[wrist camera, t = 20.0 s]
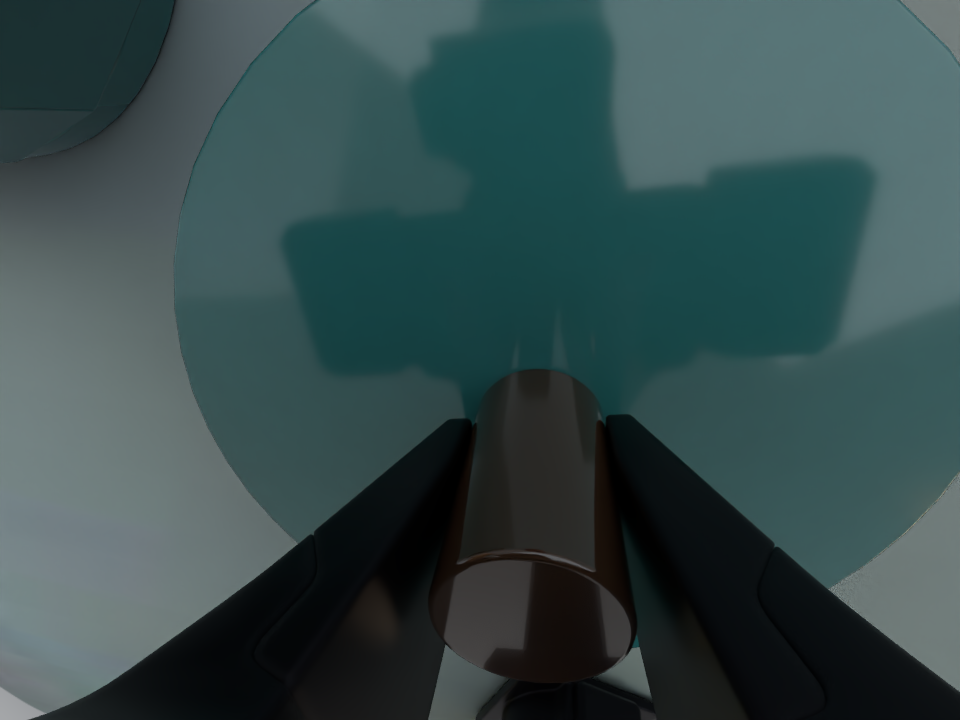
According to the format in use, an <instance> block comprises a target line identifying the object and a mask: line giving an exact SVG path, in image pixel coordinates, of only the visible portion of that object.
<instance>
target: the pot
mask: <svg viewBox="0 0 960 720" xmlns="http://www.w3.org/2000/svg"><path fill="white" fill-rule="evenodd" d="M174 2H175V0H0V163H9V162H17V161H21V160H22V159H24V158H25V157H37V156H45V155H48V154H52V153H56V152H60V151H63V150H67V149H70V148H72V147H74V146H76V145H78V144H80V143H82V142H84V141H86V140H88V139H90V138H92V137H94V136H95V135H97V134H98V133H99V132H100V131H102V130H103V129H104V128H105V127H107V126H108V125H109V124H110V123H111V122H113V121H114V120H115V119H116V118H118V117H119V116H120V114H121V113H122V112H123V111H124V110H125V108H126V107H127V106H128V105H129V104H130V102H131V101H132V100H133V99H134V97H135V96H136V95H137V94H138V93H139V91H140V89H141V87H142V86H143V84H144V82H145V80H146V78H147V77H148V75H149V73H150V71H151V69H152V68H153V66H154V64H155V62H156V60H157V57H158V54H159V52H160V49H161V46H162V43H163V41H164V38H165V35H166V33H167V30H168V27H169V24H170V20H171V15H172V11H173V6H174Z"/></svg>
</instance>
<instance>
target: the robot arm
mask: <svg viewBox="0 0 960 720" xmlns="http://www.w3.org/2000/svg"><path fill="white" fill-rule="evenodd" d="M472 429H473V425H472V422H471V421H470V419H468V418H461V419H449V420H447V421H446V422H445V423H443V424H442V425H441V426H440V427H439V428H437V429H436V430H435V431H434V432H432V433H431V434H430V435H429V436H428V437H426V438H425V439H424V440H423V441H422V442H420V443H419V444H418V445H417V446H416V447H414V448H413V449H412V450H411V451H410V452H408V453H407V454H406V455H405V456H404V457H402V458H401V459H400V460H399V461H398V462H396V463H395V464H394V465H393V466H392V467H390V468H389V469H388V470H387V471H386V472H384V473H383V474H382V475H381V476H380V477H378V478H377V479H376V480H375V481H374V482H372V483H371V484H370V485H369V486H368V487H366V488H365V489H364V490H363V491H362V492H360V493H359V494H358V495H357V496H356V497H354V498H353V499H352V500H351V501H349V502H348V503H347V504H346V505H345V506H343V507H342V508H341V509H340V510H339V511H337V512H336V513H335V514H334V515H333V516H331V517H330V518H329V519H328V520H327V521H325V522H324V523H323V524H322V525H321V526H319V527H318V528H317V529H316V530H315V531H314V535H312V534H310V535H308V536H307V537H306V538H305V539H304V540H302V541H301V542H300V543H299V544H298V545H296V546H295V547H294V548H293V549H292V550H290V551H289V552H288V553H287V554H285V555H284V556H283V557H282V558H280V559H279V560H278V561H277V562H275V563H274V564H273V565H271V566H270V567H269V568H268V569H266V570H265V571H264V572H263V573H261V574H260V575H259V576H258V577H256V578H255V579H254V580H252V581H251V582H249V583H248V584H247V585H245V586H244V587H243V588H241V589H240V590H239V591H237V592H236V593H235V594H233V595H232V596H231V597H229V598H228V599H227V600H225V601H224V602H223V603H221V604H220V605H218V606H217V607H216V608H214V609H213V610H211V611H210V612H209V613H207V614H206V615H204V616H203V617H202V618H200V619H199V620H197V621H196V622H195V623H193V624H192V625H191V626H189V627H188V628H186V629H185V630H184V631H182V632H181V633H179V634H178V635H177V636H175V637H174V638H172V639H171V640H170V641H168V642H167V643H165V644H164V645H163V646H161V647H160V648H158V649H157V650H156V651H154V652H153V653H152V654H150V655H149V656H147V657H146V658H145V659H143V660H142V661H140V662H139V663H138V664H136V665H135V666H133V667H132V668H131V669H129V670H128V671H126V672H125V673H123V674H122V675H120V676H119V677H117V678H116V679H114V680H113V681H112V682H110V683H108V684H107V685H105V686H103V687H102V688H100V689H98V690H96V691H95V692H93V693H91V694H90V695H88V696H86V697H84V698H81V699H79V700H77V701H75V702H73V703H71V704H69V705H67V706H64V707H62V708H60V709H57V710H55V711H52V712H50V713H47V714H45V715H41V716H39V717H35V718H33V719H29V720H428V717H429V713H430V709H431V704H432V700H433V696H434V692H435V687H436V683H437V679H438V674H439V670H440V666H441V661H442V657H443V653H444V648H445V643H444V642H443V640H442V639H441V638H440V637H439V635H438V634H437V632H436V631H435V629H434V627H433V625H432V622H431V620H430V615H429V610H428V594H429V590H430V586H431V582H432V579H433V575H434V571H435V567H436V564H437V560H438V556H439V552H440V549H441V545H442V541H443V537H444V534H445V530H446V526H447V522H448V519H449V515H450V511H451V507H452V504H453V500H454V496H455V492H456V489H457V485H458V481H459V477H460V474H461V470H462V466H463V462H464V459H465V455H466V451H467V447H468V444H469V440H470V436H471V432H472ZM606 433H607V439H608V445H609V451H610V458H611V464H612V470H613V476H614V481H615V487H616V492H617V498H618V504H619V510H620V516H621V522H622V529H623V535H624V541H625V547H626V553H627V559H628V565H629V571H630V577H631V583H632V589H633V595H634V601H635V607H636V613H637V621H638V628H637V638H638V642H639V646H640V650H641V655H642V659H643V663H644V667H645V671H646V676H647V680H648V684H649V688H650V692H651V696H652V701H653V703H652V702H649V701H647V700H644V699H642V698H639V697H637V696H634V695H632V694H629V693H627V692H624V691H622V690H619V689H617V688H614V687H611V686H609V685H606V684H604V683H601V682H599V681H596V680H594V679H591V678H588V679H584V680H579V681H574V682H565V683H535V682H527V681H521V680H516V679H511V678H510V680H509V681H508V682H507V683H506V684H505V685H504V686H503V687H502V688H501V689H500V690H499V691H498V693H497V694H496V695H495V696H494V697H493V698H492V699H491V700H490V701H489V702H488V703H487V704H486V706H485V707H484V708H483V709H482V710H481V711H480V712H479V713H478V714H477V716H476V720H960V692H959V691H957V690H956V689H955V688H953V687H952V686H951V685H950V684H948V683H947V682H946V681H944V680H943V679H942V678H940V677H939V676H938V675H936V674H935V673H934V672H932V671H931V670H930V669H929V668H927V667H926V666H925V665H923V664H922V663H921V662H919V661H918V660H917V659H915V658H914V657H913V656H911V655H910V654H909V653H908V652H906V651H905V650H904V649H902V648H901V647H900V646H898V645H897V644H896V643H894V642H893V641H892V640H891V639H889V638H888V637H887V636H886V635H884V634H883V633H882V632H880V631H879V630H878V629H877V628H875V627H874V626H873V625H872V624H870V623H869V622H868V621H866V620H865V619H864V618H863V617H861V616H860V615H859V614H858V613H856V612H855V611H854V610H853V609H851V608H850V607H849V606H847V605H846V604H845V603H844V602H842V601H841V600H840V599H839V598H838V597H837V596H835V595H834V594H833V593H832V592H831V591H829V590H828V589H827V588H826V587H825V586H824V585H822V584H821V583H820V582H819V581H818V580H817V579H815V578H814V577H813V576H812V575H811V574H810V573H808V572H807V571H806V570H805V569H804V568H802V567H801V566H800V565H799V564H798V563H797V562H796V561H795V560H794V559H792V558H791V557H790V556H789V555H788V554H787V553H786V552H785V551H783V550H782V549H781V548H780V547H775V544H774V542H773V541H772V540H771V539H770V538H768V537H767V536H766V535H765V534H764V533H763V532H762V531H761V530H760V529H758V528H757V527H756V526H755V525H754V524H753V523H752V522H751V521H749V520H748V519H747V518H746V517H745V516H744V515H743V514H742V513H740V512H739V511H738V510H737V509H736V508H735V507H734V506H733V505H731V504H730V503H729V502H728V501H727V500H726V499H725V498H724V497H722V496H721V495H720V494H719V493H718V492H717V491H716V490H715V489H714V488H712V487H711V486H710V485H709V484H708V483H707V482H706V481H705V480H703V479H702V478H701V477H700V476H699V475H698V474H697V473H696V472H694V471H693V470H692V469H691V468H690V467H689V466H688V465H687V464H685V463H684V462H683V461H682V460H681V459H680V458H679V457H678V456H676V455H675V454H674V453H673V452H672V451H671V450H670V449H669V448H668V447H666V446H665V445H664V444H663V443H662V442H661V441H660V440H659V439H657V438H656V437H655V436H654V435H653V434H652V433H651V432H650V431H648V430H647V429H646V428H645V427H644V426H643V425H642V424H641V423H639V422H638V421H637V420H636V419H635V418H634V417H633V416H631V415H629V414H618V415H608V416H607V417H606Z"/></svg>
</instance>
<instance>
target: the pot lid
mask: <svg viewBox="0 0 960 720" xmlns="http://www.w3.org/2000/svg"><path fill="white" fill-rule="evenodd" d="M174 307H175V315H176V322H177V328H178V335H179V341H180V348H181V353H182V357H183V360H184V364H185V367H186V371H187V374H188V377H189V381H190V384H191V388H192V391H193V394H194V396H195V399H196V401H197V403H198V406H199V408H200V410H201V413H202V415H203V417H204V420H205V422H206V424H207V427H208V429H209V431H210V433H211V434H212V436H213V438H214V440H215V441H216V443H217V445H218V447H219V448H220V450H221V452H222V454H223V456H224V457H225V459H226V461H227V463H228V464H229V465H230V467H231V468H232V470H233V471H234V472H235V474H236V475H237V476H238V478H239V479H240V481H241V482H242V483H243V485H244V486H245V488H246V489H247V490H248V492H249V493H250V494H251V495H252V497H253V498H254V499H255V500H256V501H257V502H258V503H259V505H260V506H261V507H262V508H263V509H264V510H265V511H266V512H267V514H268V515H269V516H270V517H271V518H272V519H273V520H274V521H275V522H276V523H277V524H278V525H279V526H280V527H281V528H282V529H283V530H284V531H285V532H286V533H287V534H289V535H290V536H291V537H292V538H293V539H294V540H295V541H296V542H297V543H298V544H299V543H300V542H301V541H302V540H304V539H305V538H306V537H307V536H308V535H310V534H312V535H314V531H315V530H316V529H317V528H318V527H319V526H321V525H322V524H323V523H324V522H325V521H327V520H328V519H329V518H330V517H331V516H333V515H334V514H335V513H336V512H337V511H339V510H340V509H341V508H342V507H343V506H345V505H346V504H347V503H348V502H349V501H351V500H352V499H353V498H354V497H356V496H357V495H358V494H359V493H360V492H362V491H363V490H364V489H365V488H366V487H368V486H369V485H370V484H371V483H372V482H374V481H375V480H376V479H377V478H378V477H380V476H381V475H382V474H383V473H384V472H386V471H387V470H388V469H389V468H390V467H392V466H393V465H394V464H395V463H396V462H398V461H399V460H400V459H401V458H402V457H404V456H405V455H406V454H407V453H408V452H410V451H411V450H412V449H413V448H414V447H416V446H417V445H418V444H419V443H420V442H422V441H423V440H424V439H425V438H426V437H428V436H429V435H430V434H431V433H432V432H434V431H435V430H436V429H437V428H439V427H440V426H441V425H442V424H443V423H445V422H446V421H447V420H449V419H461V418H468V419H470V421H471V422H472V425H473V429H472V432H471V436H470V440H469V444H468V447H467V451H466V455H465V459H464V462H463V466H462V470H461V474H460V477H459V481H458V485H457V489H456V492H455V496H454V500H453V504H452V507H451V511H450V515H449V519H448V522H447V526H446V530H445V534H444V537H443V541H442V545H441V549H440V552H439V556H438V560H437V564H436V567H435V571H434V575H433V579H432V582H431V586H430V590H429V594H428V610H429V615H430V620H431V622H432V625H433V627H434V629H435V631H436V632H437V634H438V635H439V637H440V638H441V639H442V640H443V642H444V643H445V644H446V645H447V646H448V647H449V648H450V649H451V650H453V651H454V652H455V653H456V654H458V655H459V656H460V657H462V658H463V659H465V660H467V661H468V662H470V663H472V664H474V665H476V666H477V667H479V668H482V669H484V670H486V671H489V672H491V673H494V674H497V675H500V676H504V677H507V678H511V679H516V680H521V681H527V682H535V683H565V682H574V681H579V680H584V679H588V678H591V677H594V676H597V675H599V674H602V673H604V672H606V671H608V670H610V669H612V668H613V667H615V666H616V665H617V664H619V663H620V662H621V661H622V660H623V659H624V658H625V657H626V656H627V655H628V653H629V652H630V650H631V649H632V648H637V647H640V646H639V642H638V638H637V628H638V621H637V613H636V607H635V601H634V595H633V589H632V583H631V577H630V571H629V565H628V559H627V553H626V547H625V541H624V535H623V529H622V522H621V516H620V510H619V504H618V498H617V492H616V487H615V481H614V476H613V470H612V464H611V458H610V451H609V445H608V439H607V433H606V417H607V416H608V415H618V414H629V415H631V416H633V417H634V418H635V419H636V420H637V421H638V422H639V423H641V424H642V425H643V426H644V427H645V428H646V429H647V430H648V431H650V432H651V433H652V434H653V435H654V436H655V437H656V438H657V439H659V440H660V441H661V442H662V443H663V444H664V445H665V446H666V447H668V448H669V449H670V450H671V451H672V452H673V453H674V454H675V455H676V456H678V457H679V458H680V459H681V460H682V461H683V462H684V463H685V464H687V465H688V466H689V467H690V468H691V469H692V470H693V471H694V472H696V473H697V474H698V475H699V476H700V477H701V478H702V479H703V480H705V481H706V482H707V483H708V484H709V485H710V486H711V487H712V488H714V489H715V490H716V491H717V492H718V493H719V494H720V495H721V496H722V497H724V498H725V499H726V500H727V501H728V502H729V503H730V504H731V505H733V506H734V507H735V508H736V509H737V510H738V511H739V512H740V513H742V514H743V515H744V516H745V517H746V518H747V519H748V520H749V521H751V522H752V523H753V524H754V525H755V526H756V527H757V528H758V529H760V530H761V531H762V532H763V533H764V534H765V535H766V536H767V537H768V538H770V539H771V540H772V541H773V542H774V544H775V547H780V548H781V549H782V550H783V551H785V552H786V553H787V554H788V555H789V556H790V557H791V558H792V559H794V560H795V561H796V562H797V563H798V564H799V565H800V566H801V567H802V568H804V569H805V570H806V571H807V572H808V573H810V574H811V575H812V576H813V577H814V578H815V579H817V580H818V581H819V582H820V583H821V584H822V585H824V586H825V587H826V588H827V589H829V588H831V587H832V586H834V585H835V584H837V583H838V582H840V581H842V580H843V579H845V578H846V577H848V576H849V575H851V574H852V573H854V572H856V571H857V570H859V569H860V568H862V567H863V566H865V565H867V564H868V563H869V562H871V561H872V560H873V559H874V558H876V557H877V556H878V555H879V554H881V553H882V552H883V551H884V550H886V549H887V548H888V547H889V546H891V545H892V544H893V543H894V542H896V541H897V540H898V539H899V538H901V537H902V536H903V535H904V534H906V533H907V532H908V531H909V530H910V529H911V527H912V526H913V525H914V524H915V523H916V522H917V521H918V520H919V519H920V518H921V517H922V516H923V515H924V514H925V513H926V512H927V511H928V510H929V509H930V508H931V507H932V506H933V505H934V504H935V503H936V502H937V501H938V500H939V499H940V498H941V497H942V495H943V494H944V493H945V491H946V490H947V489H948V487H949V486H950V485H951V483H952V482H953V481H954V480H955V478H956V477H957V476H958V474H959V473H960V64H959V63H958V61H957V60H956V58H955V57H954V55H953V54H952V52H951V51H950V49H949V48H948V47H947V46H946V45H945V44H944V43H943V42H942V41H941V40H940V39H939V38H938V37H937V36H936V35H935V34H934V33H933V32H932V31H930V30H929V29H928V28H927V27H926V26H925V25H924V24H923V23H922V22H921V21H920V20H919V19H918V18H917V17H916V16H915V15H914V14H913V13H912V12H911V11H910V10H909V9H908V8H907V7H906V6H905V5H904V4H903V3H902V2H901V1H900V0H315V1H314V2H312V3H311V4H310V5H309V6H307V7H306V8H305V9H303V10H302V11H301V12H299V13H298V14H297V15H296V16H295V17H294V18H293V19H292V20H291V21H290V22H289V23H288V24H287V25H286V26H285V28H284V29H283V30H282V31H281V32H280V33H279V34H278V35H277V36H276V37H275V38H274V39H273V40H272V41H271V43H270V44H269V45H268V46H267V47H266V48H265V49H264V50H263V51H262V52H261V53H260V54H259V55H258V56H257V58H256V59H255V60H254V61H253V62H252V63H251V64H250V66H249V67H248V69H247V70H246V72H245V73H244V75H243V76H242V78H241V79H240V81H239V82H238V84H237V85H236V87H235V88H234V90H233V91H232V93H231V94H230V96H229V97H228V99H227V100H226V102H225V103H224V105H223V106H222V108H221V109H220V111H219V112H218V114H217V116H216V118H215V120H214V122H213V124H212V127H211V129H210V131H209V133H208V135H207V137H206V140H205V142H204V144H203V146H202V148H201V151H200V153H199V155H198V157H197V159H196V161H195V164H194V166H193V170H192V174H191V177H190V181H189V184H188V188H187V191H186V195H185V198H184V202H183V205H182V209H181V213H180V218H179V226H178V233H177V241H176V249H175V257H174Z"/></svg>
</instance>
